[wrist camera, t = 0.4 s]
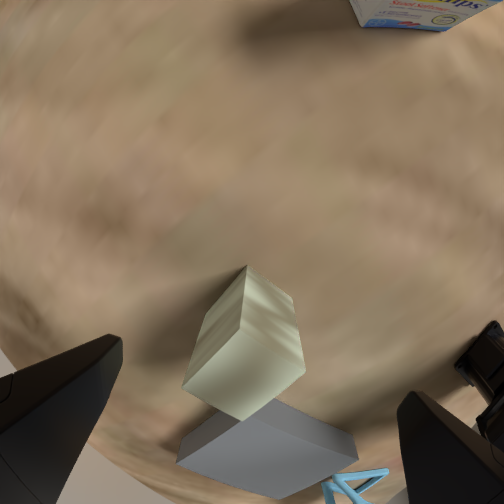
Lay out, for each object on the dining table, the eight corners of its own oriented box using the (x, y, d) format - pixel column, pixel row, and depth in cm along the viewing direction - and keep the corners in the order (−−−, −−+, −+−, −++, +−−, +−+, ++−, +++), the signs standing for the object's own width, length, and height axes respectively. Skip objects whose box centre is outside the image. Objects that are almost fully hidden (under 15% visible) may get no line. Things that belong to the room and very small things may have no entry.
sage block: (291, 298, 21) (305, 371, 13) (248, 342, 22) (242, 421, 15) (247, 264, 20) (239, 329, 13) (205, 313, 21) (181, 388, 14)
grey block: (351, 432, 26) (359, 459, 23) (278, 475, 29) (279, 499, 26) (250, 381, 24) (248, 415, 20) (182, 435, 27) (175, 463, 23)
